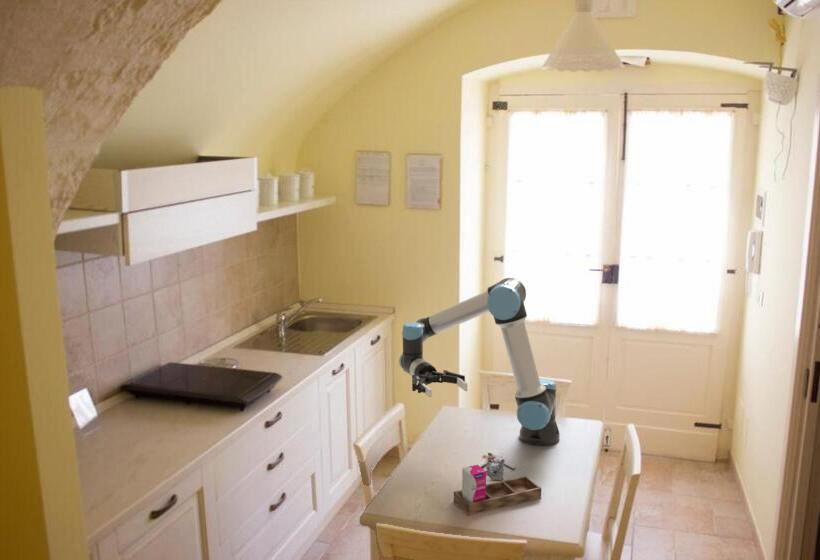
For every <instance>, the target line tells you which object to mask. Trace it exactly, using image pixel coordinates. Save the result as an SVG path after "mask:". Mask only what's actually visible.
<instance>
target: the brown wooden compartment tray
mask: <svg viewBox="0 0 820 560" xmlns="http://www.w3.org/2000/svg"><path fill="white" fill-rule="evenodd" d="M538 499H539V500H540V499H542V487H541V486H539V485H538V484H537V483H536V482H535V481H533V480H532V479H531V478H529V477H528V476H527V475H524V476H519V477H514V478H509V479H505V480H499V481H496V482H492V483H486V500H482V501H478V502H473V503H469V504H468V503H467V502H466V501H465V500H464V499H463V498H462V489H461V490H456V491H453V502H454V504H455V505H456V506H457V507H458V508H459V509H460V510H461V511H462V512H464V514H465V515H466V516H472V515H475V514H480V513H484V512H489V511H492V510H496V509H501V508H505V507H510V506H513V505H514V506H515V505H519V504H521V503H526V502H530V501H535V500H538Z"/></svg>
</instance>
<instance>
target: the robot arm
mask: <svg viewBox="0 0 820 560" xmlns="http://www.w3.org/2000/svg"><path fill="white" fill-rule="evenodd" d="M526 297H527V290H526V287H525V285H524V284H523V283H522V282H521V281H520V280H519V279H517V278H514V277H506V278H504V279H501V280H500V281H498V282H496V283H494V284H493V285H491V286H489V287H487V289H486V291H483V292H482V293H479V294H477V295H475V296H472V297H470V298H468V299H466V300H462V301H461V302H458V303H456V304H454V305H452V306H450V307H448V308H445V309H442V310H440V311H438V312H435V313H433V314H431V315H428V316H427V317H422V318H420V319H418V320H416V321H415V322H414V321H413V322H412V321H411V322H406V323H405V324H403V325H402V332H401V335H402V353H401V355H400V357H399V360H398V362H399V366H400V368H402V369H403V371H404V372H405V373H407V374H408V375H410V376H411V383H412V384H411V386H412V387H411V391H413V392H416V391H417V393H418V394H422V393H423V394H424V395H426V396H427V397H428V398H432V388H430V386H428V385H430V384H432V383H439V384H443V383H447V384H452V385H453V384H455V385H456V386H457V387H459V388H460V389H461V390H463V391H464V392H468V383H467V382H466V375H463V374H459V373H456V372H451V371H449V370H446V369H444V370H443V372H440V371H437V369H436V367H435V366H433V364H431V363H429V362H428V361H426V359H424V358H423V357H424V356H423V355H424V354H423V351H424V349H423V348H424V345H423V343H425V341H427V339H429V338H431V337H434V336H435V335H438V334H440V333H442V332H445V331H447V330H449V329H451V328H454V327H457V326H458V325H461V324H463V323H466V322H469V321H470V320H473V319H476V318H478V317H480V316H482V315H485V314H487V313H490V314H491V315H492V316H493V320H494V323H495V325H497V326H498V327H500V330H501V333H502V336H503V337H502V338H503V340H504V341H503V342H504V345H505V349H506V351H507V356H508V359H509V363H510V368H511V371H512V374H513V378H514V382H515V386H516V391H515V392H514V399H515V402H516V406H517V409H516V419H517V420H518V422H519V424H520V425H521V427H520V430H519V439H520V440H521V441H523V442H524V443H526V444H529V445H531V446H541V447H542V446H550V445H555V444H557V443H558V442H559V441H560V435H561V434H560V430H559V427H558V424H557V420H556V410H557V409H556V407H557V406H556V403H557V400H556V399H557V398H556V397H557V384H556V382H555V381H553V380H550V379H546V378H540V377H539V373H538V369H537V365H536V362H535V358H534V354H533V350H532V347H531V343H530V339H529V334H528V331H527V327H526V323H525V321H526V319H527V317H528V315H527V311H526V307H525V300H526Z"/></svg>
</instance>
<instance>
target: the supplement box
mask: <svg viewBox="0 0 820 560" xmlns="http://www.w3.org/2000/svg"><path fill="white" fill-rule="evenodd" d="M461 471H462V473H461V474H462V475H461V477H462V479H461V490H462V498H463V499H464V500H465V501H466V502H467V503H468V504H469V503H473V502H478V501H482V500H486V484H487V475H486V469H483V468H482V467H481V466H480V465H479V464H475V465H470V466H465V467H462V469H461Z"/></svg>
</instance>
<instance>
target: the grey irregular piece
mask: <svg viewBox="0 0 820 560" xmlns="http://www.w3.org/2000/svg"><path fill="white" fill-rule="evenodd" d="M487 456H488V457H489V458H488V457H487V463H486V467H485V468H486V469H485V471H486V477H489V479H491V480H490V481H494V480H499V481H505V480H504V472H503V471H504V465H505V459H504V458H503V456H500V458H501V461H499V462H498V464H496V465H492V462H493V461H492V460H488V459H490V458H491V457H492V458H493V457H495V456H494V454H493V453H492V452H488V453H487ZM497 458H498V457H495V459H497ZM493 459H494V458H493ZM488 461H491V462H488Z"/></svg>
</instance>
